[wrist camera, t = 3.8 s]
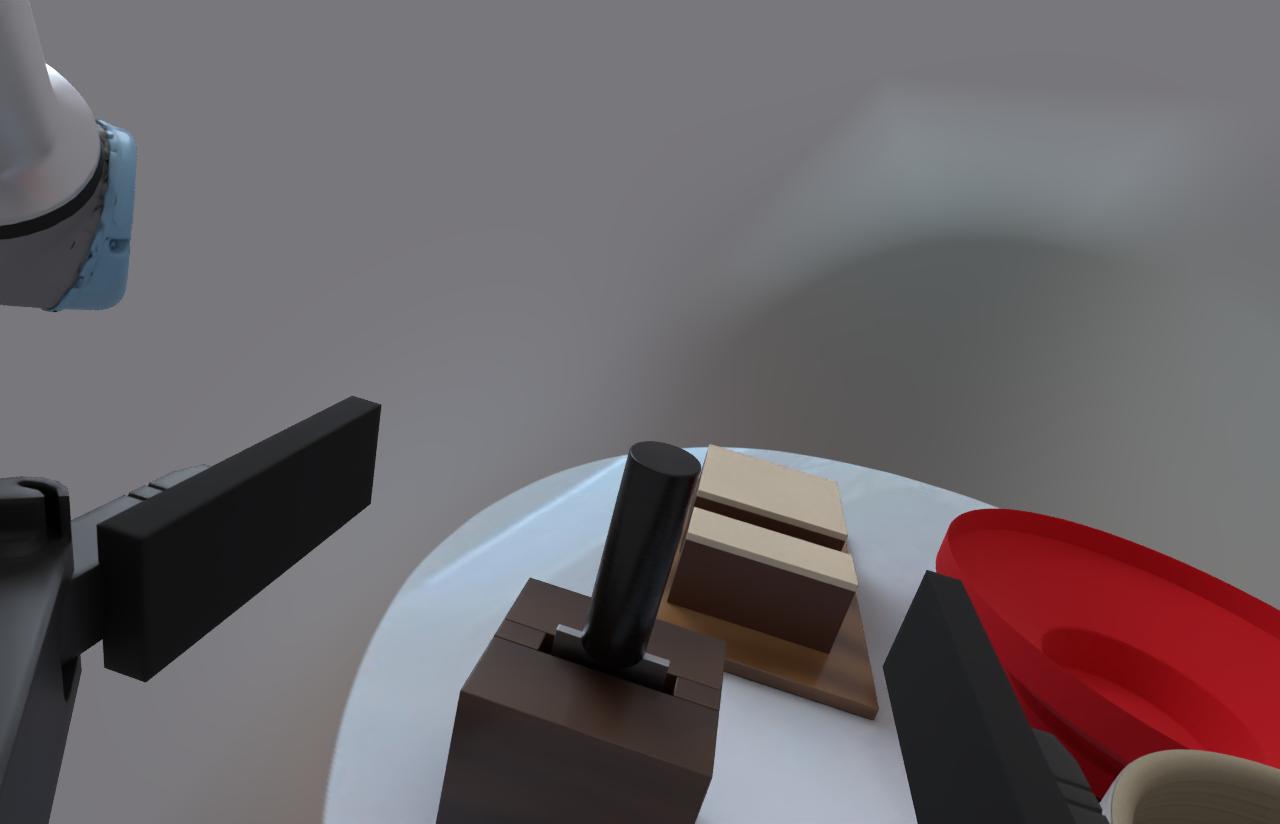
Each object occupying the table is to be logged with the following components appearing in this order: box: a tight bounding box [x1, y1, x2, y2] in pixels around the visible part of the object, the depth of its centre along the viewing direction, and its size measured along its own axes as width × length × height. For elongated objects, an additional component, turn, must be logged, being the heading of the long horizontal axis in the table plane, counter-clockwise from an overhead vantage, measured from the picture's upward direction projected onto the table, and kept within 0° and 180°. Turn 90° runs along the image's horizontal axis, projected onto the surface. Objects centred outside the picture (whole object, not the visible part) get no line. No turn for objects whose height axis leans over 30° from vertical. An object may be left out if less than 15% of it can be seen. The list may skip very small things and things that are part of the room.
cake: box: [679, 444, 848, 552], centre depth 59 cm, size 10×12×6 cm
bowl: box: [936, 509, 1280, 800], centre depth 47 cm, size 30×30×10 cm
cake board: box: [656, 479, 879, 720], centre depth 57 cm, size 26×18×1 cm
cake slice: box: [667, 507, 858, 654], centre depth 49 cm, size 4×12×6 cm, turn 79°
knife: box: [550, 441, 701, 692], centre depth 29 cm, size 3×5×19 cm, turn 79°
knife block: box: [436, 578, 726, 824], centre depth 31 cm, size 8×10×10 cm
